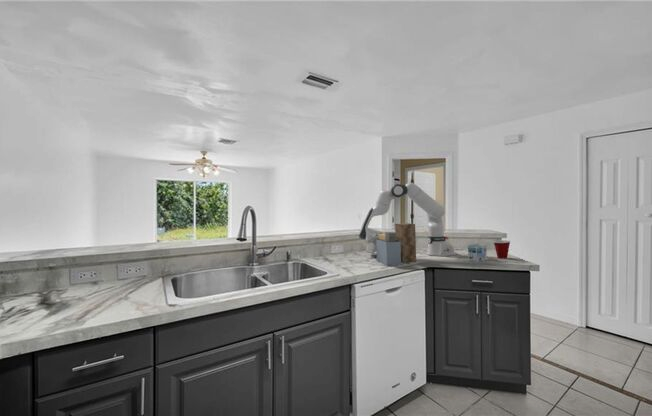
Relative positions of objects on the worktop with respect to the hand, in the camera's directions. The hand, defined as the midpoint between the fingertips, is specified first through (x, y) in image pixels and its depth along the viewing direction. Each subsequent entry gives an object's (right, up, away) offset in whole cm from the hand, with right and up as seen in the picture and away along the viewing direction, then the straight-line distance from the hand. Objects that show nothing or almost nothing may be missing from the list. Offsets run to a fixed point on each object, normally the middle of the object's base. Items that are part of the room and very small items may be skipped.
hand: (382, 233), depth 204 cm
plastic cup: (+83, -17, -5) cm, 85 cm away
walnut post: (+15, -19, -7) cm, 25 cm away
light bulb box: (+63, -17, -11) cm, 66 cm away
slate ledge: (+2, -19, -9) cm, 21 cm away
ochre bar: (+1, -4, -7) cm, 8 cm away
